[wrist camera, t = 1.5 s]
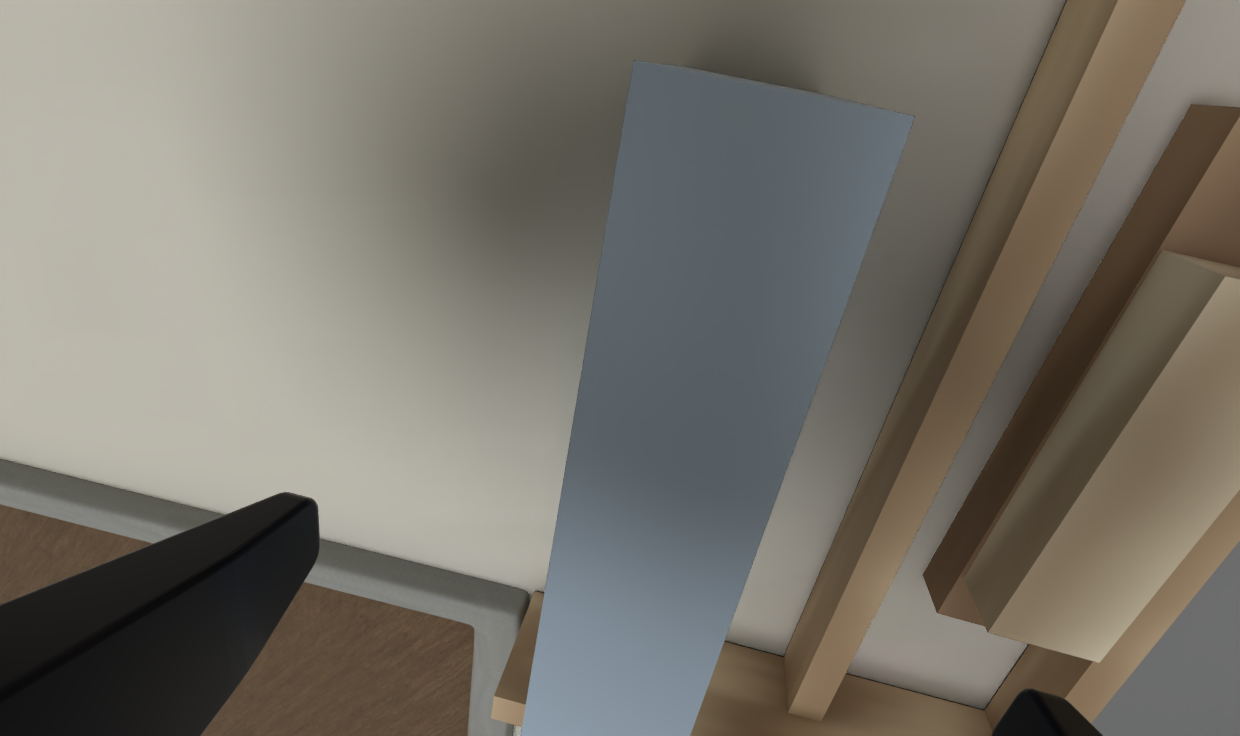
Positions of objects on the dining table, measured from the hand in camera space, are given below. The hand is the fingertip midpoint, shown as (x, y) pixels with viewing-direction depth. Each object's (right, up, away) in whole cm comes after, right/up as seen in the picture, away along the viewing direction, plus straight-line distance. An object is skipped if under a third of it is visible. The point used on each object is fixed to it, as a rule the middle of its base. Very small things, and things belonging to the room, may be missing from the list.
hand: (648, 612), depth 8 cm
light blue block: (+2, +4, +9) cm, 10 cm away
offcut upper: (+11, +1, +7) cm, 13 cm away
